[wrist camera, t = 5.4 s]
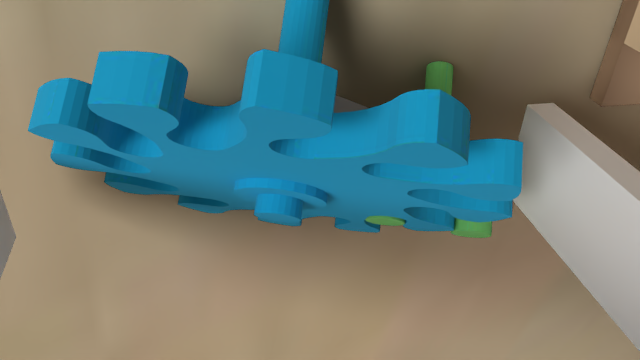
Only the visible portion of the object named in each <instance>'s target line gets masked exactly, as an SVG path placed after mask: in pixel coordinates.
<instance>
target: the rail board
mask: <svg viewBox="0 0 640 360" xmlns="http://www.w3.org/2000/svg"><path fill="white" fill-rule="evenodd" d="M590 99H592V100H593V101H594V102H596V103H597V104H598V105H600V106H601V107H602V106H618V105H634V104H640V0H623V2H622V5H621V8H620V11H619V14H618V17H617V19H616V22H615V25H614V28H613V31H612V34H611V37H610V40H609V43H608V46H607V49H606V52H605V55H604V57H603V60H602V63H601V66H600V69H599V72H598V75H597V78H596V81H595V84H594V87H593V90H592V93H591V95H590Z"/></svg>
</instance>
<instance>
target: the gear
mask: <svg viewBox="0 0 640 360" xmlns="http://www.w3.org/2000/svg"><path fill="white" fill-rule="evenodd" d="M328 7H329V0H286V3H285V10H284V17H283V24H282V30H281V37H280V44H279V50H278V52H275V51H271V50H266V49H263V50H260V51H257V52H255V53H253V54H252V55H250V57H249V59H248V60H247V67H246V73H245V79H244V85H243V91H242V97H241V100H240V101H238V102H236V103H235V104H232V105H230V106H209V105H203V104H199V103H196V102H192V101H190V100H188V99H185V98H184V94H185V88H186V83H187V78H188V71H187V68H186V67H185V66H184V65H183V64H182V63H180V62H179V61H178V60H176V59H175V58H173V57H171V56H169V55H163V54H157V53H150V52H138V51H112V52H99V56H98V60H97V65H96V69H95V73H94V77H93V82H92V85H91V84H88V83H86V82H83V81H80V80H76V79H72V78H61V79H56V80H52V81H49V82H47V83H45V84H44V85H42V86H41V87H39V89H38V93H37V97H36V101H35V105H34V109H33V112H32V116H31V120H30V124H29V128H28V131H29V132H31V133H33V134H36V135H38V136H41V137H44V138H47V139H51V140H54V144H53V148H52V152H51V159H52V160H53V161H54V162H55V163H56V164H58V165H62V166H65V167H70V168H75V169H81V170H89V171H100V172H106V176H105V180H104V182H105V183H106V184H108V185H109V186H111V187H114V188H116V189H118V190H121V191H124V192H128V193H134V194H145V195H149V194H171V195H180V196H179V201H178V205H181V206H184V207H187V208H191V209H195V210H198V211H203V212H207V213H223V212H225V211H229V210H240V209H244V210H255V211H254V215H255V216H256V217H258V220H261V221H265V222H270V223H276V224H282V225H288V226H300V225H301V223H302V219H304V218H309V217H316V216H328V217H336V218H335V227H336V228H338V229H343V230H351V231H362V232H375V233H377V232H379V231H380V225H390V226H399V225H403V226H404V227H405V228H408V229H411V230H416V231H451V234H454V235H458V236H463V237H474V238H485V237H490V236H491V232H492V221H497V220H502V219H506V218H510V217H512V203H513V199H515V198H516V197H518V196H519V194H520V193H521V188H522V160H523V142H520V141H515V140H508V139H481V140H471V141H469V139H470V121H471V115H470V112H469V110H468V109H467V108H466V107H465V105H464V104H462V103H461V102H460V101H458V100H457V99H455V98H454V97H452V96H451V95H452V80H453V66H452V65H451V64H450V63H447V62H442V61H437V62H432V63H430V64H428V65H427V69H426V81H425V89H424V90H415V91H410V92H406V93H404V94H401V95H399V96H398V97H396V98H394V99H393V100H391V101H389V102H387V103H384V104H382V105H379V106H376V107H372V108H368V107H365V106H363V105H360V104H358V103H355V102H352V101H350V100H347V99H345V98H342V97H339V96H337V95H336V88H337V80H338V70H335V69H333V68H331V67H329V66H326V65H324V64H321V61H322V54H323V46H324V38H325V30H326V23H327V15H328Z"/></svg>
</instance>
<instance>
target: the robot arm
mask: <svg viewBox="0 0 640 360" xmlns="http://www.w3.org/2000/svg"><path fill="white" fill-rule="evenodd" d="M518 141H520V142H523V160H522V188H521V193H520V194H519V196H518V197H516V198H515V199H513V201H514V203H515V204H516V205H517V206H518V207H519V209H520V210H521V211H522V212H523V213H524V215H525V216H526V217H527V218H528V219H529V220H530V222H531V223H532V224H533V225H534V226H535V228H536V229H537V230H538V231H539V232H540V234H541V235H542V236H543V237H544V238H545V240H546V241H547V242H548V243H549V244H550V245H551V247H552V248H553V249H554V250H555V251H556V253H557V254H558V255H559V256H560V257H561V259H562V260H563V261H564V262H565V263H566V265H567V266H568V267H569V268H570V269H571V270H572V272H573V273H574V274H575V275H576V276H577V278H578V279H579V280H580V281H581V282H582V284H583V285H584V286H585V287H586V288H587V289H588V291H589V292H590V293H591V294H592V295H593V297H594V298H595V299H596V300H597V301H598V303H599V304H600V305H601V306H602V307H603V309H604V310H605V311H606V312H607V313H608V314H609V316H610V317H611V318H612V319H613V320H614V322H615V323H616V324H617V325H618V326H619V328H620V329H621V330H622V331H623V332H624V334H625V335H626V336H627V337H628V338H629V339H630V341H631V342H632V343H633V344H634V345H635V347H636V348H637V349H638V350H639V351H640V172H639V171H638V170H637V169H636V168H634V167H633V166H632V165H631V164H629V163H628V162H627V161H626V160H624V159H623V158H622V157H621V156H619V155H618V154H617V153H616V152H614V151H613V150H612V149H611V148H609V147H608V146H607V145H606V144H604V143H603V142H602V141H601V140H599V139H598V138H597V137H596V136H594V135H593V134H592V133H591V132H589V131H588V130H587V129H586V128H584V127H583V126H582V125H581V124H579V123H578V122H577V121H576V120H574V119H573V118H572V117H571V116H569V115H568V114H567V113H566V112H564V111H563V110H562V109H561V108H559V107H558V106H557V105H555V104H554V103H544V104H529V105H527V108H526V112H525V115H524V119H523V123H522V127H521V130H520V134H519V138H518ZM15 239H16V235H15V232H14V229H13V226H12V223H11V220H10V217H9V214H8V211H7V209H6V206H5V203H4V200H3V197H2V194H1V191H0V278H1V276H2V273H3V270H4V268H5V265H6V262H7V260H8V257H9V255H10V252H11V249H12V247H13V244H14V241H15Z"/></svg>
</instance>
